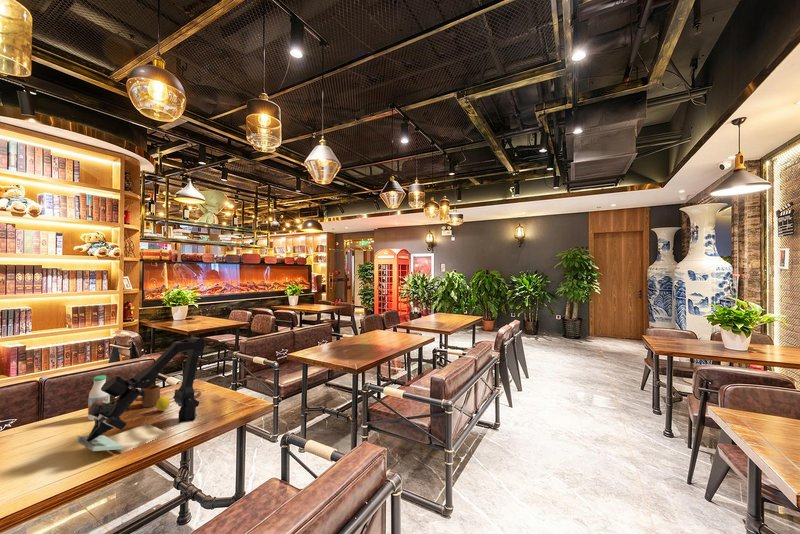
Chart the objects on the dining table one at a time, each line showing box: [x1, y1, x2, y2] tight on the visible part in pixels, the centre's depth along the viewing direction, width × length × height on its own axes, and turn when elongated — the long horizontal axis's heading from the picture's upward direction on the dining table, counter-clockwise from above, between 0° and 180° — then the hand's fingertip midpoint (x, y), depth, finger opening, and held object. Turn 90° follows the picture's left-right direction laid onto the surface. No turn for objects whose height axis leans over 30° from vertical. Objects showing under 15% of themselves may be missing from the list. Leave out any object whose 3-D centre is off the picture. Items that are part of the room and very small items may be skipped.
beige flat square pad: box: [108, 423, 167, 454], centre depth 137 cm, size 16×16×2 cm
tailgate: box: [76, 435, 122, 452], centre depth 126 cm, size 2×16×9 cm
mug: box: [134, 384, 161, 408], centre depth 169 cm, size 12×8×9 cm, turn 154°
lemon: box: [155, 395, 171, 412], centre depth 164 cm, size 6×6×8 cm
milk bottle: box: [87, 374, 111, 421], centre depth 156 cm, size 8×8×20 cm
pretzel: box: [193, 388, 202, 399], centre depth 183 cm, size 12×11×4 cm
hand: (87, 440), depth 123 cm, fingers closed, pressing on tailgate
